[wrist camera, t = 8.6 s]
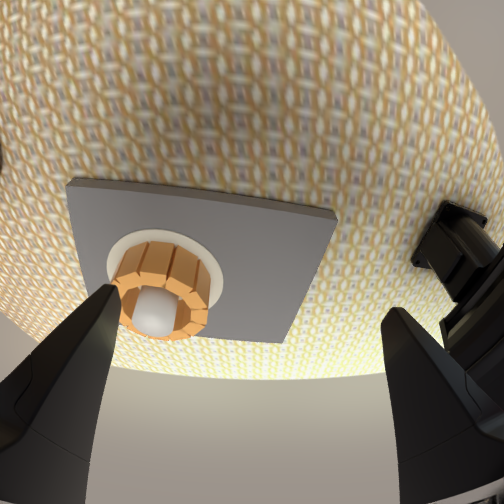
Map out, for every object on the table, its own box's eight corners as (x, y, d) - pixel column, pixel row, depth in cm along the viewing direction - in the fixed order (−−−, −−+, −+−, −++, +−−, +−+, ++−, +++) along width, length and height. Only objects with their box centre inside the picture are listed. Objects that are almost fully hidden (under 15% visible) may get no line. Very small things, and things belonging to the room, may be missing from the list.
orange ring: (214, 248, 19) (211, 280, 17) (206, 314, 23) (204, 345, 21) (113, 236, 18) (98, 265, 16) (124, 303, 22) (115, 332, 20)
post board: (333, 211, 19) (358, 264, 15) (280, 333, 28) (286, 382, 23) (73, 177, 16) (31, 222, 12) (99, 310, 25) (83, 357, 21)
